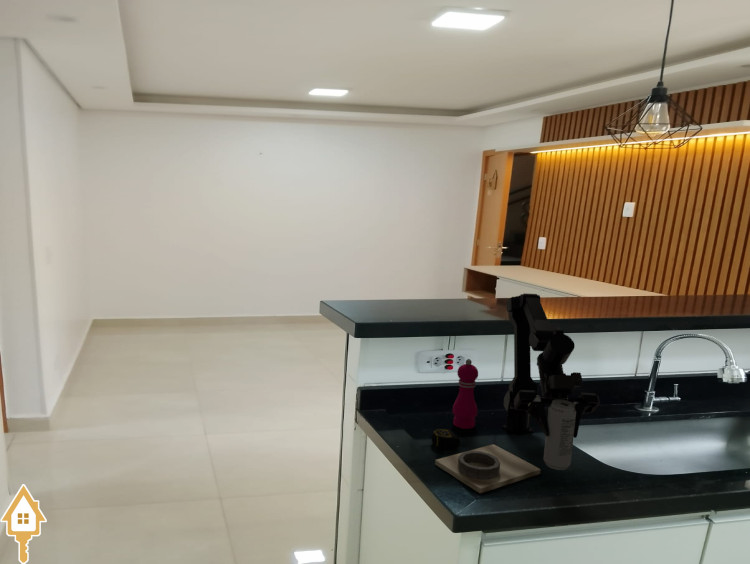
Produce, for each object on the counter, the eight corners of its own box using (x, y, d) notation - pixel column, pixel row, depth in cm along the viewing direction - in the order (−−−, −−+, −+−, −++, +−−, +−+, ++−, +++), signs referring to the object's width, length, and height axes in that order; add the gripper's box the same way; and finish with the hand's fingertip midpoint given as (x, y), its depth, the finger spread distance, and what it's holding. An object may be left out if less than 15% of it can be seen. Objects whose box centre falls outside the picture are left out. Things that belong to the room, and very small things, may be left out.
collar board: (493, 448, 152) (494, 435, 151) (540, 473, 139) (541, 459, 138) (435, 464, 141) (436, 450, 140) (480, 493, 128) (481, 478, 127)
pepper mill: (480, 428, 165) (485, 362, 162) (457, 430, 163) (462, 363, 160) (469, 419, 172) (474, 355, 169) (447, 421, 170) (452, 356, 167)
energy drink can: (555, 457, 135) (561, 397, 133) (575, 468, 130) (582, 405, 128) (537, 462, 132) (543, 400, 130) (557, 473, 127) (564, 409, 125)
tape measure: (461, 450, 150) (462, 437, 150) (437, 452, 148) (438, 439, 147) (449, 439, 156) (450, 426, 156) (427, 441, 154) (428, 428, 154)
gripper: (521, 356, 131) (529, 420, 122) (601, 360, 131) (615, 424, 122) (510, 378, 140) (517, 439, 131) (585, 382, 140) (597, 443, 131)
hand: (561, 436), depth 129 cm, fingers closed on energy drink can, 6 cm apart
